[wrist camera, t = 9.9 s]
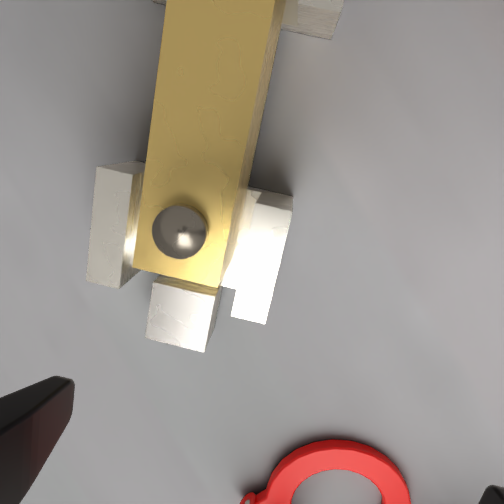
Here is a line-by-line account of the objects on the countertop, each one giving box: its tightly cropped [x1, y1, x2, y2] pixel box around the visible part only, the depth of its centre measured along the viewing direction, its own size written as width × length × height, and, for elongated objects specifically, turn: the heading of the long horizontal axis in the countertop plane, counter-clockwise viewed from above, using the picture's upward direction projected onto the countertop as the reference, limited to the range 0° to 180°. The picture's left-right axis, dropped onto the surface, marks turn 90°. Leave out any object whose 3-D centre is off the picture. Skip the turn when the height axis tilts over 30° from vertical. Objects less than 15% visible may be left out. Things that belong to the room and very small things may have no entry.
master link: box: [132, 0, 286, 288], centre depth 15 cm, size 4×14×5 cm, turn 168°
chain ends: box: [86, 0, 344, 352], centre depth 17 cm, size 8×23×4 cm, turn 168°
